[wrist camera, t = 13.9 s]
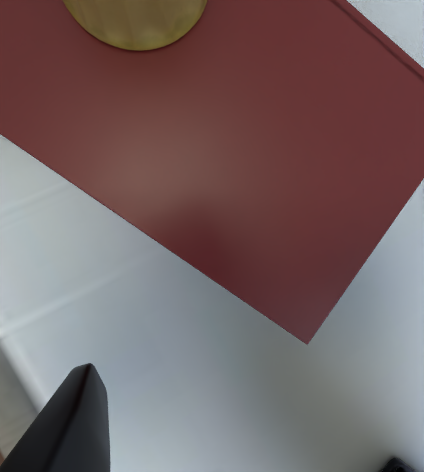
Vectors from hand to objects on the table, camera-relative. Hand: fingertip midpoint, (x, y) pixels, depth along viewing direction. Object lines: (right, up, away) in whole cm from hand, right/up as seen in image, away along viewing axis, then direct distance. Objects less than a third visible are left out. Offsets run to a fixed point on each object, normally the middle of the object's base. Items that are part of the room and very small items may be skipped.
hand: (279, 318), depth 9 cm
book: (-2, +8, +10) cm, 13 cm away
